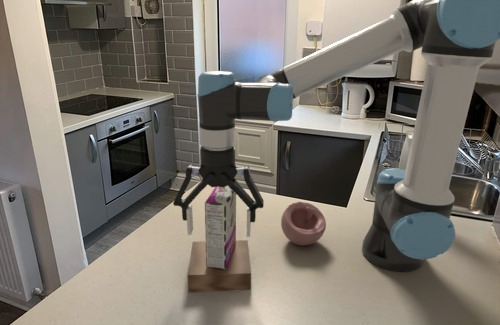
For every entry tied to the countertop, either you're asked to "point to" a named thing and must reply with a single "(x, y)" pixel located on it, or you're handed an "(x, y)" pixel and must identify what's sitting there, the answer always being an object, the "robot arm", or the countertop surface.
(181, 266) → the countertop surface
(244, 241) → the walnut block
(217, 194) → the candy bar box
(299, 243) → the mortar and pestle
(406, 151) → the skyscraper
